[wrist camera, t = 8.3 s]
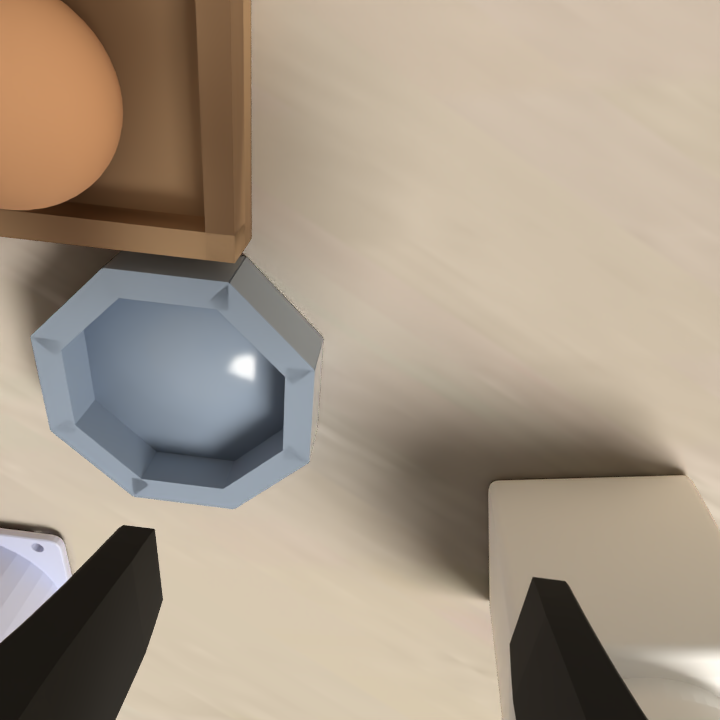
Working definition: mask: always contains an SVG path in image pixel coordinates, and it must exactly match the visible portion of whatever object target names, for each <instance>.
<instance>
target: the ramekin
mask: <svg viewBox="0 0 720 720" xmlns="http://www.w3.org/2000/svg"><path fill="white" fill-rule="evenodd" d="M323 340H324V339H323V337H322V336H321V335H320V334H319V333H318V332H317V331H316V330H315V329H314V328H313V327H312V326H311V325H310V324H309V322H308V321H307V320H306V319H305V318H304V317H303V316H302V315H301V314H300V313H299V312H298V311H297V310H296V309H295V308H294V307H293V306H292V305H291V303H290V302H289V301H288V300H287V299H286V298H285V297H284V296H283V295H282V294H281V293H280V292H279V291H278V290H277V289H276V288H275V287H274V285H273V284H272V283H271V282H270V281H269V280H268V279H267V278H266V277H265V276H264V275H263V274H262V273H261V272H260V271H259V270H258V269H257V268H256V266H255V265H254V264H253V263H252V262H251V261H250V260H249V259H248V258H247V257H246V258H245V256H240V257H239V258H238V260H237V261H236V263H227V262H218V261H209V260H201V259H192V258H183V257H174V256H166V255H157V254H148V253H140V252H131V251H121V252H120V253H119V254H117V255H116V256H115V257H114V258H113V259H112V260H111V261H110V262H108V263H107V264H106V265H105V266H104V267H103V268H102V269H101V270H99V271H98V272H97V273H96V274H95V275H94V276H93V277H92V278H91V279H90V280H89V281H88V282H87V283H86V284H85V285H84V286H83V287H82V288H81V289H80V290H78V291H77V292H76V293H75V294H74V295H73V296H72V297H71V298H70V299H69V300H68V301H67V302H66V303H65V304H64V305H63V306H62V307H61V308H60V309H58V310H57V311H56V312H55V313H54V314H53V315H52V316H51V317H50V318H49V319H48V320H47V321H46V322H45V323H44V324H43V325H42V326H41V327H40V328H38V329H37V330H36V331H35V332H34V333H33V334H32V335H31V342H32V347H33V352H34V356H35V361H36V366H37V370H38V375H39V380H40V384H41V389H42V394H43V398H44V403H45V408H46V413H47V417H48V422H49V427H50V430H51V432H53V433H54V434H55V435H56V436H58V437H59V438H60V439H61V440H63V441H64V442H65V443H67V444H68V445H69V446H70V447H72V448H73V449H74V450H75V451H77V452H78V453H79V454H80V455H82V456H83V457H84V458H85V459H87V460H88V461H89V462H90V463H92V464H93V465H94V466H95V467H97V468H98V469H99V470H100V471H102V472H103V473H104V474H106V475H107V476H108V477H109V478H111V479H112V480H113V481H114V482H116V483H117V484H118V485H119V486H121V487H122V488H123V489H124V490H126V491H127V492H128V493H129V494H131V495H132V496H134V497H140V498H148V499H156V500H164V501H172V502H180V503H188V504H196V505H204V506H212V507H220V508H228V509H235V508H237V507H239V506H240V505H242V504H243V503H245V502H247V501H248V500H250V499H252V498H253V497H255V496H256V495H258V494H260V493H261V492H263V491H264V490H266V489H268V488H269V487H271V486H272V485H274V484H276V483H277V482H279V481H280V480H282V479H284V478H285V477H287V476H288V475H290V474H292V473H293V472H295V471H297V470H298V469H300V468H301V467H303V466H305V465H306V464H308V463H309V462H310V457H311V453H312V449H313V444H314V440H315V436H316V432H317V427H318V416H319V401H320V386H321V370H322V355H323Z"/></svg>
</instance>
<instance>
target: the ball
mask: <svg viewBox="0 0 720 720" xmlns="http://www.w3.org/2000/svg"><path fill="white" fill-rule="evenodd" d="M122 123H123V103H122V95H121V90H120V85H119V82H118V78H117V75H116V72H115V69H114V67H113V65H112V62H111V60H110V58H109V56H108V54H107V52H106V51H105V49H104V47H103V45H102V44H101V42H100V41H99V39H98V38H97V36H96V35H95V34H94V32H93V31H92V30H91V29H90V28H89V26H88V25H87V24H86V23H85V22H84V21H83V20H82V19H81V18H80V17H79V16H78V15H77V14H76V13H75V12H74V11H73V10H72V9H71V8H70V7H69V6H67V5H66V4H65V3H63V2H62V1H61V0H0V209H5V210H33V209H40V208H47V207H50V206H54V205H57V204H60V203H63V202H65V201H67V200H69V199H71V198H74V197H76V196H77V195H79V194H80V193H82V192H83V191H85V190H86V189H87V188H89V187H90V186H91V185H92V184H93V183H94V182H95V181H96V180H97V179H98V178H99V177H100V176H101V175H102V173H103V172H104V171H105V169H106V168H107V167H108V165H109V164H110V162H111V160H112V158H113V156H114V154H115V152H116V149H117V146H118V143H119V140H120V135H121V130H122Z"/></svg>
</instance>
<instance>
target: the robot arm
mask: <svg viewBox="0 0 720 720" xmlns="http://www.w3.org/2000/svg"><path fill="white" fill-rule="evenodd" d="M162 601H163V596H162V588H161V579H160V571H159V562H158V553H157V545H156V536H155V529H150V528H142V527H134V526H127V525H123V526H121V527H120V528H118V529H117V530H116V532H115V533H114V534H113V535H112V536H111V537H110V538H109V539H108V540H107V541H106V542H105V543H104V544H103V545H102V546H101V547H100V548H99V549H98V550H97V551H96V552H95V553H94V554H93V555H92V556H91V557H90V558H89V559H88V560H87V561H86V562H85V563H84V564H83V565H82V566H81V567H80V568H79V569H78V570H77V571H76V572H75V573H74V574H73V575H72V574H71V569H70V565H69V560H68V556H67V552H66V547H65V544H64V542H63V540H62V539H61V538H60V537H58V536H56V535H52V534H44V533H36V532H28V531H20V530H12V529H5V528H0V720H116V717H117V715H118V713H119V711H120V709H121V706H122V704H123V702H124V700H125V698H126V695H127V693H128V691H129V689H130V687H131V684H132V682H133V680H134V678H135V675H136V673H137V671H138V669H139V666H140V664H141V662H142V660H143V657H144V655H145V653H146V650H147V647H148V644H149V641H150V638H151V635H152V632H153V629H154V626H155V623H156V620H157V617H158V613H159V610H160V607H161V604H162ZM509 645H510V664H511V681H512V695H513V705H514V711H515V717H516V720H648V719H647V717H646V716H645V714H644V713H643V711H642V710H641V708H640V706H639V705H638V703H637V702H636V700H635V698H634V697H633V695H632V694H631V692H630V690H629V689H628V687H627V686H626V684H625V682H624V681H623V679H622V678H621V676H620V674H619V673H618V671H617V670H616V668H615V666H614V665H613V663H612V661H611V659H610V658H609V656H608V654H607V653H606V651H605V649H604V648H603V646H602V644H601V642H600V641H599V639H598V637H597V635H596V634H595V632H594V630H593V628H592V627H591V625H590V623H589V621H588V619H587V618H586V616H585V614H584V612H583V610H582V609H581V607H580V605H579V603H578V601H577V599H576V597H575V596H574V594H573V592H572V590H571V588H570V586H569V585H568V584H567V582H566V581H562V580H554V579H546V578H538V577H532V580H531V583H530V586H529V589H528V592H527V595H526V598H525V600H524V603H523V606H522V609H521V612H520V615H519V618H518V621H517V624H516V627H515V630H514V633H513V635H512V638H511V641H510V644H509Z"/></svg>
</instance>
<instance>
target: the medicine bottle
mask: <svg viewBox="0 0 720 720" xmlns="http://www.w3.org/2000/svg"><path fill="white" fill-rule="evenodd" d="M488 511H489V597H490V614H491V623H492V632H493V640H494V649H495V658H496V667H497V676H498V685H499V694H500V703H501V712H502V720H516V717H515V711H514V705H513V695H512V681H511V664H510V645H509V644H510V641H511V638H512V635H513V633H514V630H515V627H516V624H517V621H518V618H519V615H520V612H521V609H522V606H523V603H524V600H525V598H526V595H527V592H528V589H529V586H530V583H531V580H532V577H538V578H546V579H554V580H562V581H566V582H567V584H568V585H569V586H570V588H571V590H572V592H573V594H574V596H575V597H576V599H577V601H578V603H579V605H580V607H581V609H582V610H583V612H584V614H585V616H586V618H587V619H588V621H589V623H590V625H591V627H592V628H593V630H594V632H595V634H596V635H597V637H598V639H599V641H600V642H601V644H602V646H603V648H604V649H605V651H606V653H607V654H608V656H609V658H610V659H611V661H612V663H613V665H614V666H615V668H616V670H617V671H618V673H619V674H620V676H621V678H622V679H623V681H624V682H625V684H626V686H627V687H628V689H629V690H630V692H631V694H632V695H633V697H634V698H635V700H636V702H637V703H638V705H639V706H640V708H641V710H642V711H643V713H644V714H645V716H646V717H647V719H648V720H720V529H719V527H718V526H717V524H716V522H715V520H714V518H713V517H712V515H711V513H710V511H709V509H708V508H707V506H706V504H705V502H704V500H703V499H702V497H701V495H700V493H699V491H698V489H697V488H696V486H695V484H694V482H693V481H692V480H691V479H690V478H689V477H687V476H684V475H672V476H637V477H603V478H568V479H534V480H499V481H494V482H492V483H491V484H490V487H489V490H488Z"/></svg>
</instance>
